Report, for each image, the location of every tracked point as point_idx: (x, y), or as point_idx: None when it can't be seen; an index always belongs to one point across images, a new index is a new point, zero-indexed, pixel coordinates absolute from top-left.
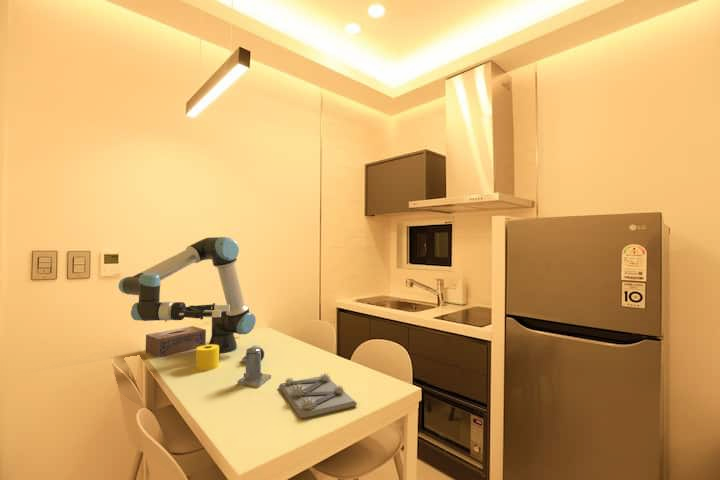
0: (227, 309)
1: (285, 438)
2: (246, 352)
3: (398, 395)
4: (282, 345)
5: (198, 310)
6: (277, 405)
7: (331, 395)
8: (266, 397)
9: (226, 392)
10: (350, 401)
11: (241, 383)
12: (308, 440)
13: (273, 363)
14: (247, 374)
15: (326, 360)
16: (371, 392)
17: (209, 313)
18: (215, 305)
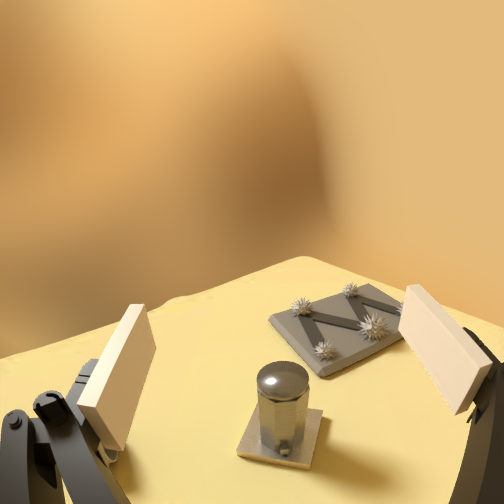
0: (150, 346)
1: (468, 327)
2: (292, 400)
3: (323, 264)
4: (11, 384)
5: (501, 426)
6: (398, 361)
7: (364, 299)
8: (373, 386)
9: (366, 473)
10: (371, 286)
11: (312, 456)
12: (458, 311)
13: (139, 411)
14: (300, 435)
15: (158, 324)
16: (319, 280)
17: (472, 338)
18: (100, 399)
